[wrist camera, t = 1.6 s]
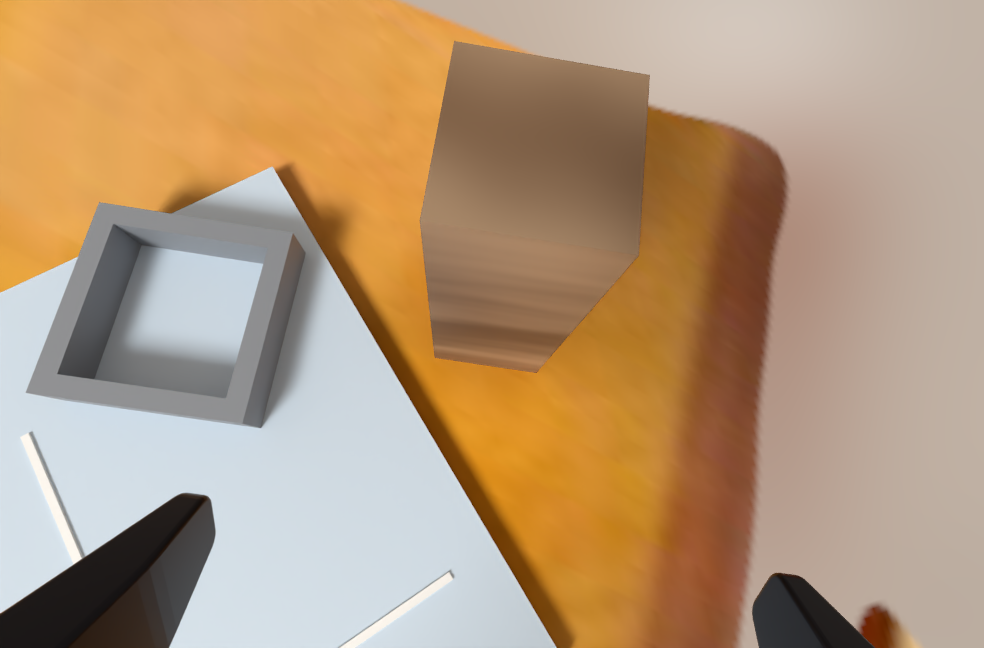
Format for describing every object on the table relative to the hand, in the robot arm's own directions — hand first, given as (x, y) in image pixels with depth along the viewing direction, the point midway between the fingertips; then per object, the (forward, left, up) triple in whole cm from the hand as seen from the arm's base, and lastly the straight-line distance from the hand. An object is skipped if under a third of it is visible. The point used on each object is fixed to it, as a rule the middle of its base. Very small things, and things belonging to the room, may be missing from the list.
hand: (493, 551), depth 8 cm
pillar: (+6, -5, -14) cm, 16 cm away
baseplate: (+5, +8, -14) cm, 17 cm away
